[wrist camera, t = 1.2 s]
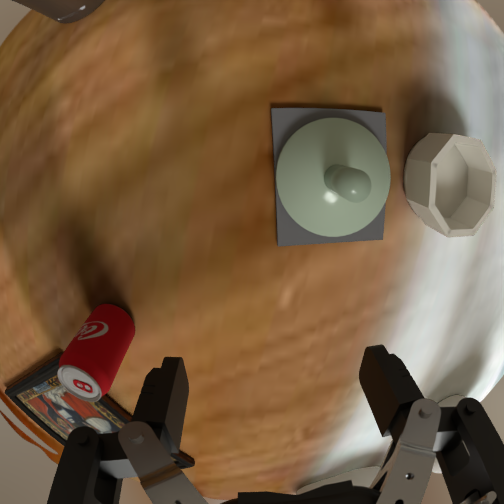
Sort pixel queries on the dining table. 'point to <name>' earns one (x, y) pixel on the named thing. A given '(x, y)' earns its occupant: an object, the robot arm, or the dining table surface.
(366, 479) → the container
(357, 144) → the lid
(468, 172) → the bowl
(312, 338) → the dining table surface
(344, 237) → the mat
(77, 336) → the beverage can
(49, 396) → the religious icon
